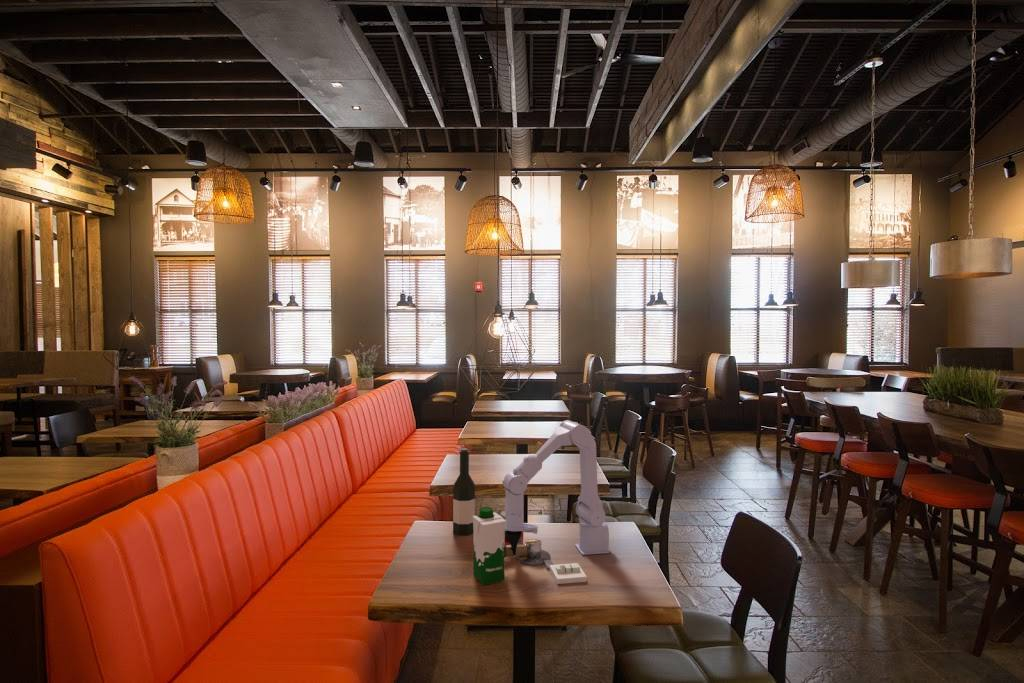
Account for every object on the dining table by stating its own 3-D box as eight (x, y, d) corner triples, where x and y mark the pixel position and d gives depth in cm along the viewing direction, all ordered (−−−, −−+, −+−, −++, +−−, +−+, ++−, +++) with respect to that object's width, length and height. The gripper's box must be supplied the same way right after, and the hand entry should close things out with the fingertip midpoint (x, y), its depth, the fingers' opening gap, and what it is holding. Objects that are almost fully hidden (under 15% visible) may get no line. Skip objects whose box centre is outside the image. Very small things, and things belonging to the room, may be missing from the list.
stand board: (577, 567, 170) (577, 556, 170) (586, 581, 161) (586, 569, 161) (549, 569, 168) (549, 558, 168) (557, 584, 159) (557, 572, 159)
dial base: (545, 549, 183) (545, 546, 183) (557, 569, 169) (557, 565, 169) (513, 551, 181) (513, 548, 181) (522, 571, 167) (522, 568, 167)
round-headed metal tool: (538, 551, 179) (539, 537, 179) (543, 558, 175) (543, 543, 174) (496, 555, 176) (497, 540, 176) (500, 561, 171) (500, 546, 171)
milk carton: (495, 568, 169) (496, 504, 168) (509, 581, 161) (509, 514, 160) (469, 574, 165) (469, 508, 164) (481, 587, 157) (482, 519, 156)
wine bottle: (479, 528, 200) (479, 447, 199) (470, 537, 192) (470, 452, 191) (458, 525, 203) (458, 445, 201) (448, 534, 195) (448, 450, 193)
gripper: (538, 508, 175) (538, 550, 176) (493, 505, 177) (493, 547, 178) (536, 516, 168) (536, 559, 169) (489, 513, 170) (489, 556, 171)
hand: (514, 553), depth 173 cm, fingers closed, pressing on round-headed metal tool
